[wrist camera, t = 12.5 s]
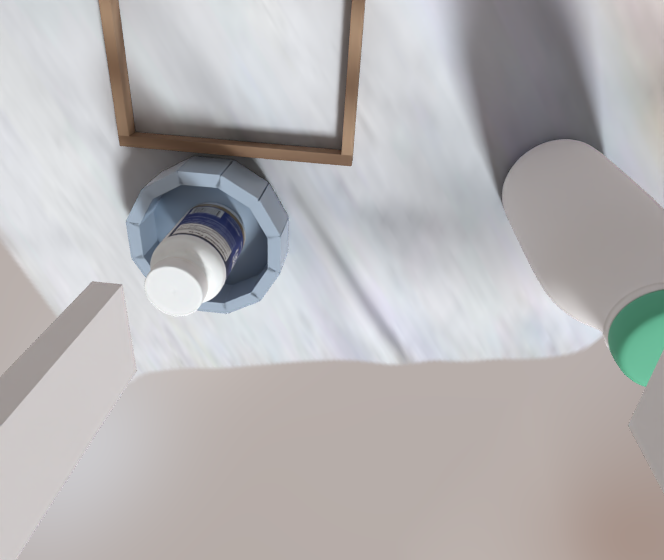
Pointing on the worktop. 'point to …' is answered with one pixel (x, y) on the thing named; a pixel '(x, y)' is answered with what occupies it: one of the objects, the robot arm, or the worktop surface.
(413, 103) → the worktop surface
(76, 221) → the worktop surface
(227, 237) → the pill bottle
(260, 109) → the worktop surface
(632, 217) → the milk bottle
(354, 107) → the empty rectangular wooden frame
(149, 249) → the bowl
